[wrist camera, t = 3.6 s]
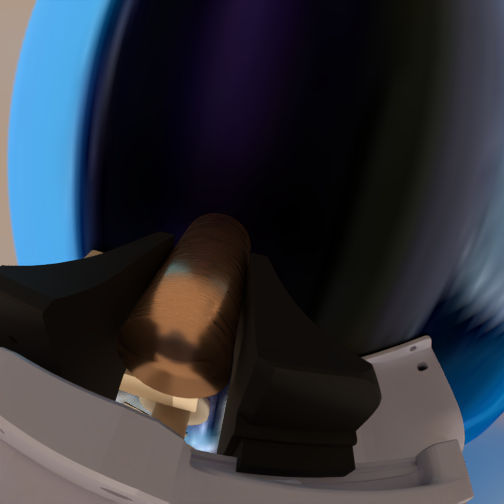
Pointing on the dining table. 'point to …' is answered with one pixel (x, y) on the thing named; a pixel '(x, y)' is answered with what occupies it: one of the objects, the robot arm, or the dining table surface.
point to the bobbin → (178, 414)
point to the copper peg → (190, 312)
